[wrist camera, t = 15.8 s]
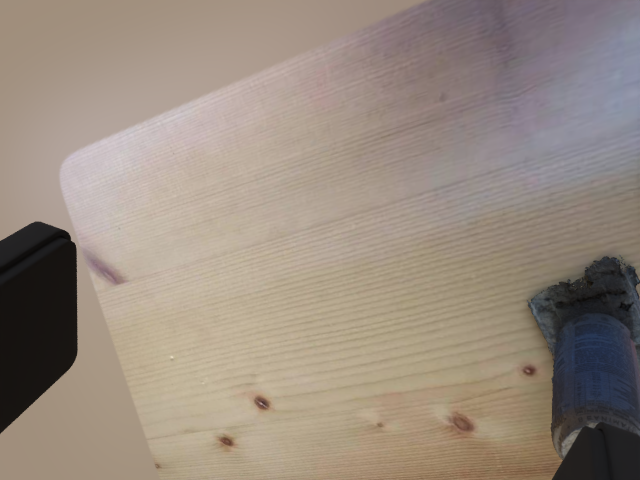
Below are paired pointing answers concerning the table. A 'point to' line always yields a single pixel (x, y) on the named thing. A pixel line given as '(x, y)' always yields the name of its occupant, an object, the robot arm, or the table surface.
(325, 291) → the table surface
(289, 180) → the table surface
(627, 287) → the can on ragged base
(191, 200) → the table surface
